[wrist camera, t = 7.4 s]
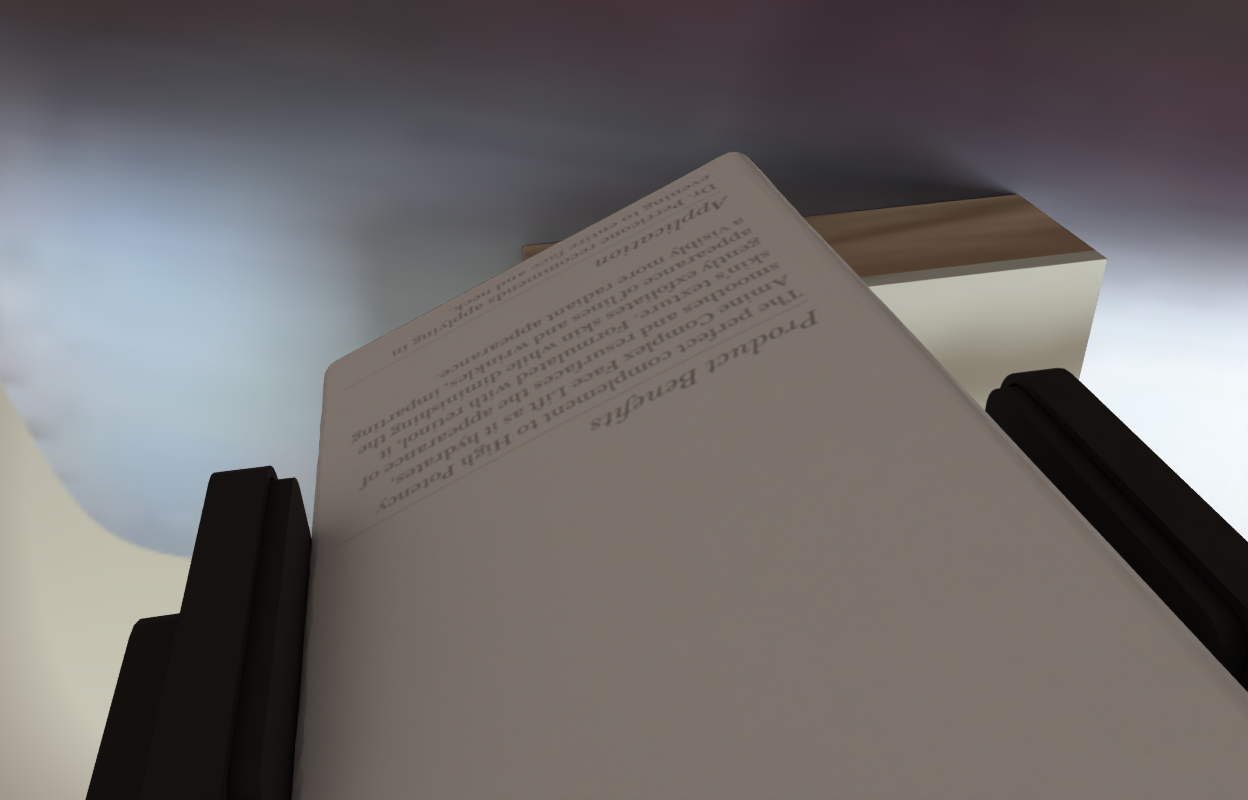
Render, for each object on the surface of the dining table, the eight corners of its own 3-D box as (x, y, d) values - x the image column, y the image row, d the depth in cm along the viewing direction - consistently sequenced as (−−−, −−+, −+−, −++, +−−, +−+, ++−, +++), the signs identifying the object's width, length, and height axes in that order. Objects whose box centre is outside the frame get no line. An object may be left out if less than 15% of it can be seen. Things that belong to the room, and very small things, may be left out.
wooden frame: (522, 246, 32) (546, 324, 28) (1018, 194, 35) (1107, 259, 31) (556, 674, 42) (577, 779, 38) (942, 609, 44) (1002, 701, 40)
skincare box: (483, 568, 16) (658, 2008, 6) (304, 341, 14) (88, 2149, 4) (860, 376, 15) (1755, 1612, 5) (744, 103, 13) (1991, 1439, 3)
